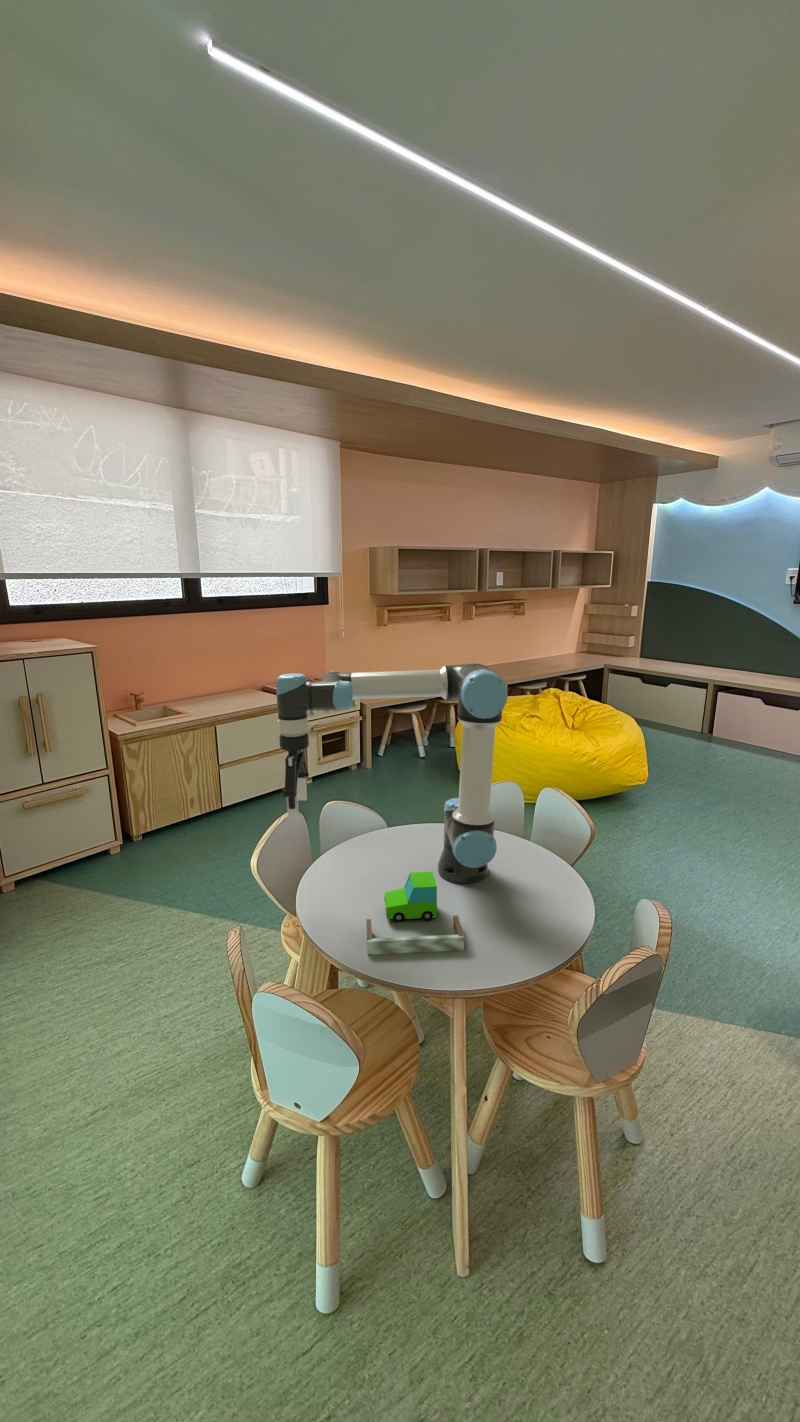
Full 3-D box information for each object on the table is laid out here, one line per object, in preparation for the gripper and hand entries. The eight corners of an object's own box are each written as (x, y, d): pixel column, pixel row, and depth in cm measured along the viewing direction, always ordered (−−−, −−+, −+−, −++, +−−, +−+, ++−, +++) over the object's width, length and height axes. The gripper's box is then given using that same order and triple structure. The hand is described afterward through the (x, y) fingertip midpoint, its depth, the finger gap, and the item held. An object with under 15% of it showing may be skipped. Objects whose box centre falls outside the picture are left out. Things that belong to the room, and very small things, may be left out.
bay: (457, 927, 156) (457, 915, 156) (463, 950, 147) (464, 937, 146) (366, 931, 155) (366, 919, 154) (367, 954, 146) (366, 941, 145)
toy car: (384, 905, 167) (383, 871, 165) (431, 902, 168) (432, 869, 166) (386, 926, 157) (386, 891, 155) (437, 923, 159) (437, 888, 156)
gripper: (288, 721, 171) (292, 792, 176) (269, 746, 147) (274, 828, 151) (315, 721, 171) (318, 792, 176) (300, 746, 147) (304, 828, 151)
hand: (297, 809), depth 164 cm, fingers open, 13 cm apart
